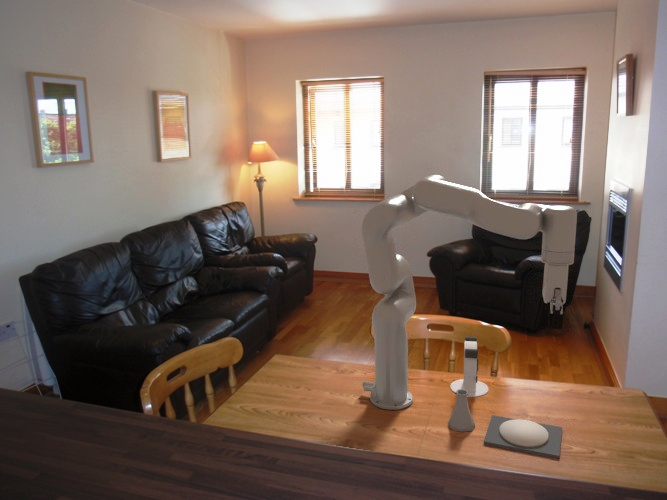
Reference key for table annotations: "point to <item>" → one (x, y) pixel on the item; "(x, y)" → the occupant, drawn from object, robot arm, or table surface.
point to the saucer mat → (524, 436)
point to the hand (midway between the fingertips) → (553, 321)
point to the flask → (461, 414)
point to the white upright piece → (470, 371)
